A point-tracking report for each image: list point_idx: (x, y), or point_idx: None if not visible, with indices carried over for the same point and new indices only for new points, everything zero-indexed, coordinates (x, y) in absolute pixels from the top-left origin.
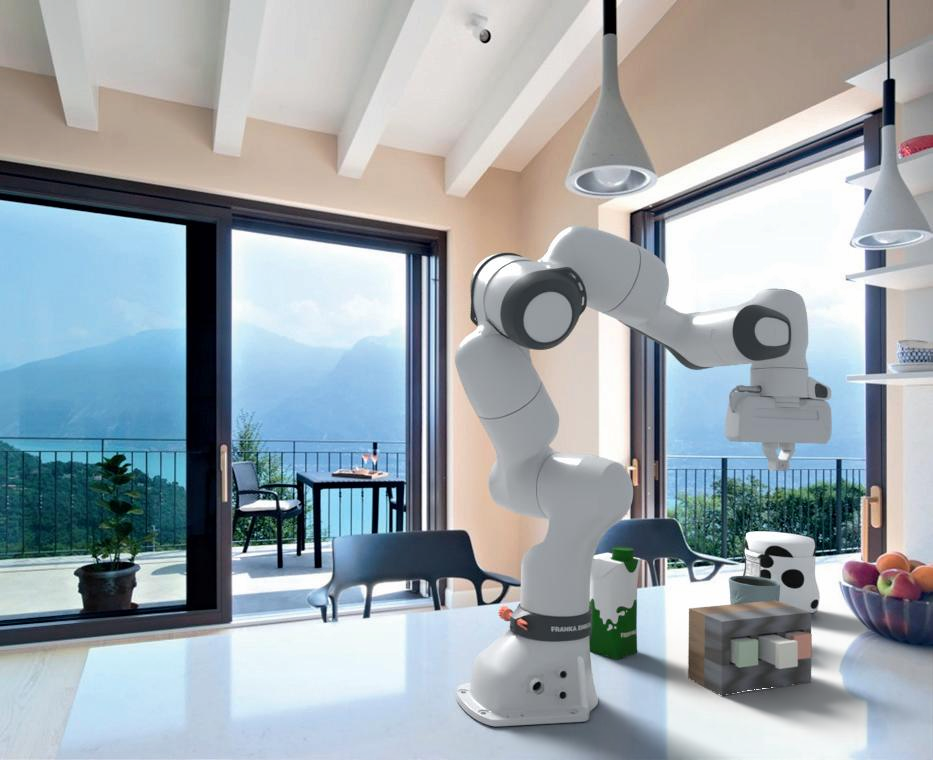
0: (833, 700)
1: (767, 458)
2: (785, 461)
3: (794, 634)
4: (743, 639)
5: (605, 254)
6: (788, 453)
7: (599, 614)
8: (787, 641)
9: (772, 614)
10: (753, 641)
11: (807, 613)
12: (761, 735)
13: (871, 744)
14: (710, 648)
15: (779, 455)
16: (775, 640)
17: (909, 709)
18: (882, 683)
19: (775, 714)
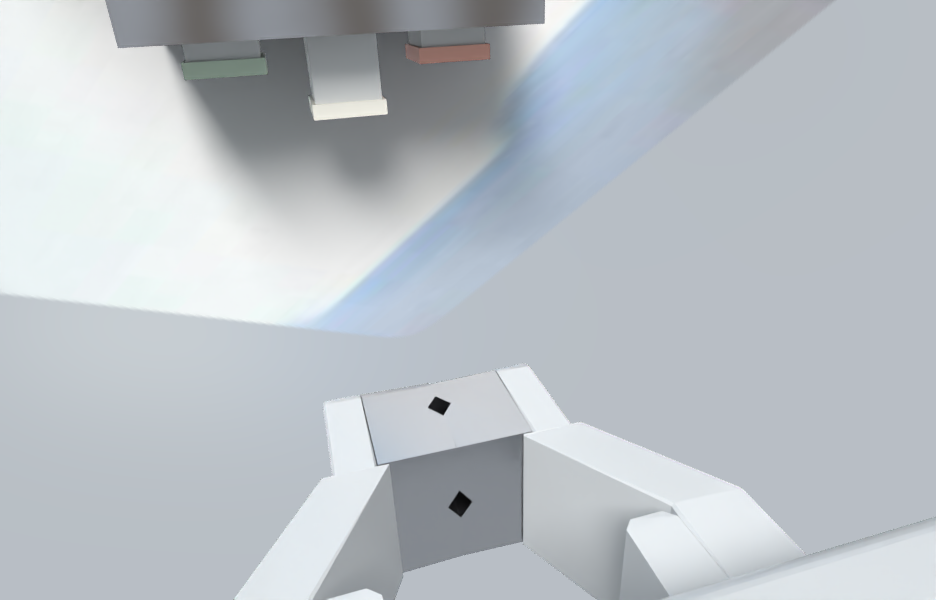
0: (438, 126)
1: (318, 496)
2: (503, 531)
3: (430, 52)
4: (228, 43)
5: None
6: (604, 589)
7: None
8: (356, 106)
9: (385, 13)
10: (246, 75)
11: (526, 24)
12: (137, 243)
13: (344, 306)
14: None
15: (575, 461)
16: (333, 78)
17: (552, 198)
18: (632, 71)
19: (241, 161)
